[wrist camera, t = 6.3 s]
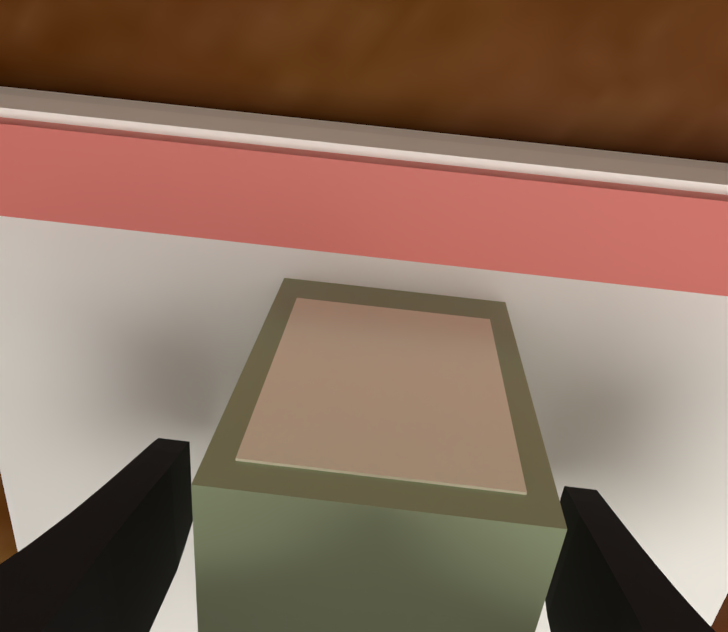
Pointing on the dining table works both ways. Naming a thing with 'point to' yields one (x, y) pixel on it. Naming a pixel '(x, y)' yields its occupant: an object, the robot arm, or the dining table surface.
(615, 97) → the dining table surface
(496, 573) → the carton
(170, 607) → the shelf board
